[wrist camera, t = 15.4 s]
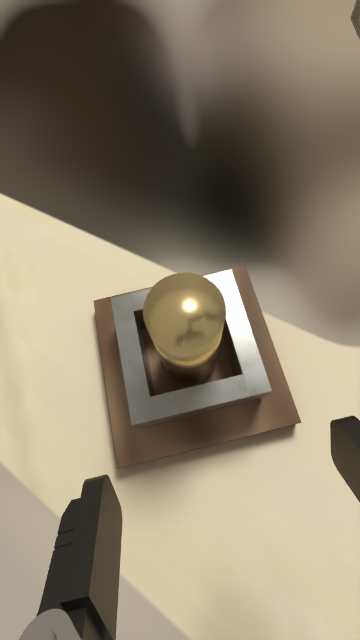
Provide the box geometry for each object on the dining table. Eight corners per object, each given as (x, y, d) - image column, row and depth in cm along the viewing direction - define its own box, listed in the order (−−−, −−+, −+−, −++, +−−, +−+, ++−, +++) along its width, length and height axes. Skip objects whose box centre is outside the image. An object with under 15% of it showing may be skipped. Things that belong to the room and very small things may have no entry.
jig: (242, 273, 31) (251, 238, 26) (295, 423, 25) (319, 418, 20) (98, 307, 30) (77, 279, 25) (122, 467, 25) (101, 472, 20)
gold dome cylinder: (208, 325, 27) (213, 264, 18) (223, 376, 26) (236, 337, 16) (157, 338, 27) (135, 283, 18) (169, 389, 26) (152, 359, 16)
